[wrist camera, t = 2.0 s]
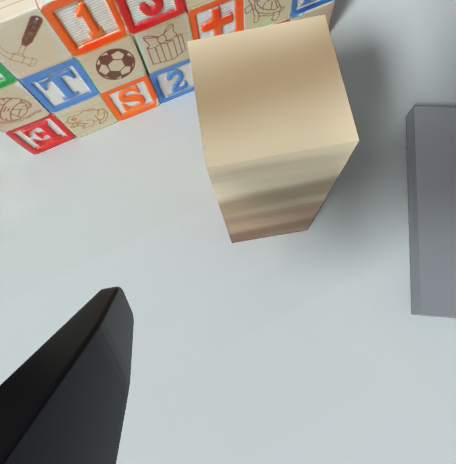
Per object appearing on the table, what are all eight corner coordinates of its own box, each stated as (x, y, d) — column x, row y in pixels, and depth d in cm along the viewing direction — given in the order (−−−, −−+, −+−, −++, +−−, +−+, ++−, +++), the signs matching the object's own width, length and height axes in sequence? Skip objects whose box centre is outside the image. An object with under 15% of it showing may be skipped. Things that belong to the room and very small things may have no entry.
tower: (307, 230, 21) (359, 140, 10) (232, 243, 21) (206, 167, 10) (291, 160, 22) (324, 14, 11) (220, 173, 22) (187, 41, 12)
